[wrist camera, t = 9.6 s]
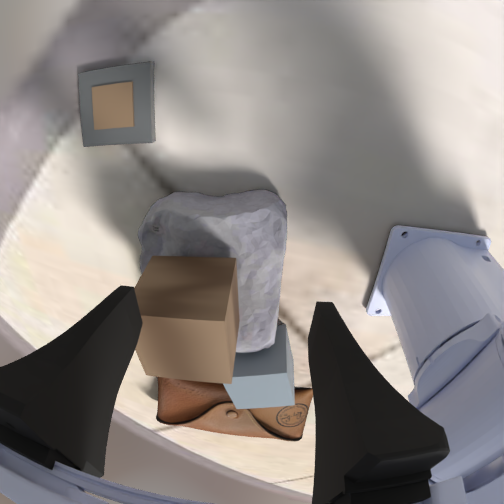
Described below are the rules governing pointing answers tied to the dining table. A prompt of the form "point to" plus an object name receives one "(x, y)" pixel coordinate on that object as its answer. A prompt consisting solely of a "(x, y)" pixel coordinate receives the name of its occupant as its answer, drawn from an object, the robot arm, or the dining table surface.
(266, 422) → the sunglasses case
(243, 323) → the stone block
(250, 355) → the blue-grey cube
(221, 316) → the walnut cube
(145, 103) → the tile
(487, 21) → the dining table surface
